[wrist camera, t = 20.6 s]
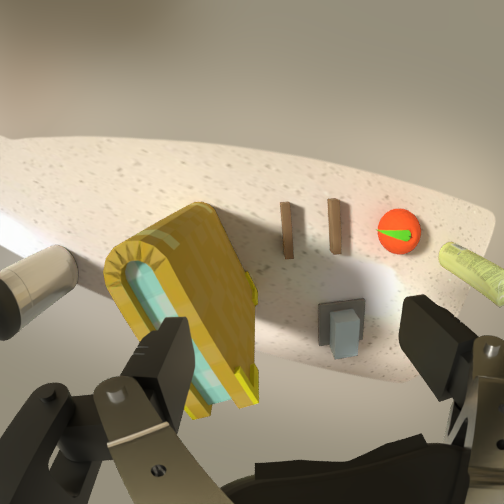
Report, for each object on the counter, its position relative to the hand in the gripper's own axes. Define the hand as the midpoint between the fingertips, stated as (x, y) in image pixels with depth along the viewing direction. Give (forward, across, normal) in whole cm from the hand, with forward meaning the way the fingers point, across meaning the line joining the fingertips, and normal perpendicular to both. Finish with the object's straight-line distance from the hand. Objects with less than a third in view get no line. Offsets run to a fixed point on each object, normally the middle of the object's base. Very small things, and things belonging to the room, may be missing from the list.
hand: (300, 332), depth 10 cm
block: (+34, -12, +21) cm, 42 cm away
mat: (+35, -12, +20) cm, 42 cm away
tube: (+35, -33, +10) cm, 49 cm away
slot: (+35, -6, +3) cm, 36 cm away
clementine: (+35, -20, +4) cm, 40 cm away
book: (+35, +8, +6) cm, 37 cm away
